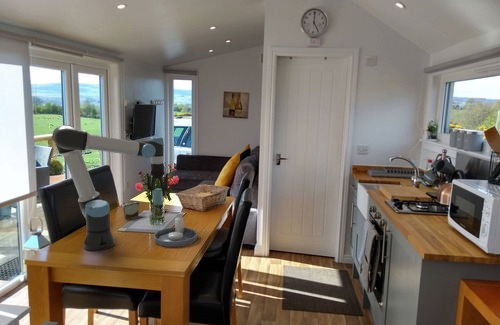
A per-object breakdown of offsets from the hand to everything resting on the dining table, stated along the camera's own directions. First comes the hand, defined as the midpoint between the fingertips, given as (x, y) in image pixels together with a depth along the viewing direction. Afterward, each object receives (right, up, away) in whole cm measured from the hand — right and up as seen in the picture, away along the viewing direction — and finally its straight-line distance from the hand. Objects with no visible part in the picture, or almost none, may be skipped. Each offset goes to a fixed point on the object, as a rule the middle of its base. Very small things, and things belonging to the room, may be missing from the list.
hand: (158, 200), depth 229 cm
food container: (-24, -13, +22) cm, 35 cm away
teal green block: (0, -2, 0) cm, 2 cm away
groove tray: (+14, -20, -17) cm, 29 cm away
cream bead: (+15, -18, -9) cm, 25 cm away
